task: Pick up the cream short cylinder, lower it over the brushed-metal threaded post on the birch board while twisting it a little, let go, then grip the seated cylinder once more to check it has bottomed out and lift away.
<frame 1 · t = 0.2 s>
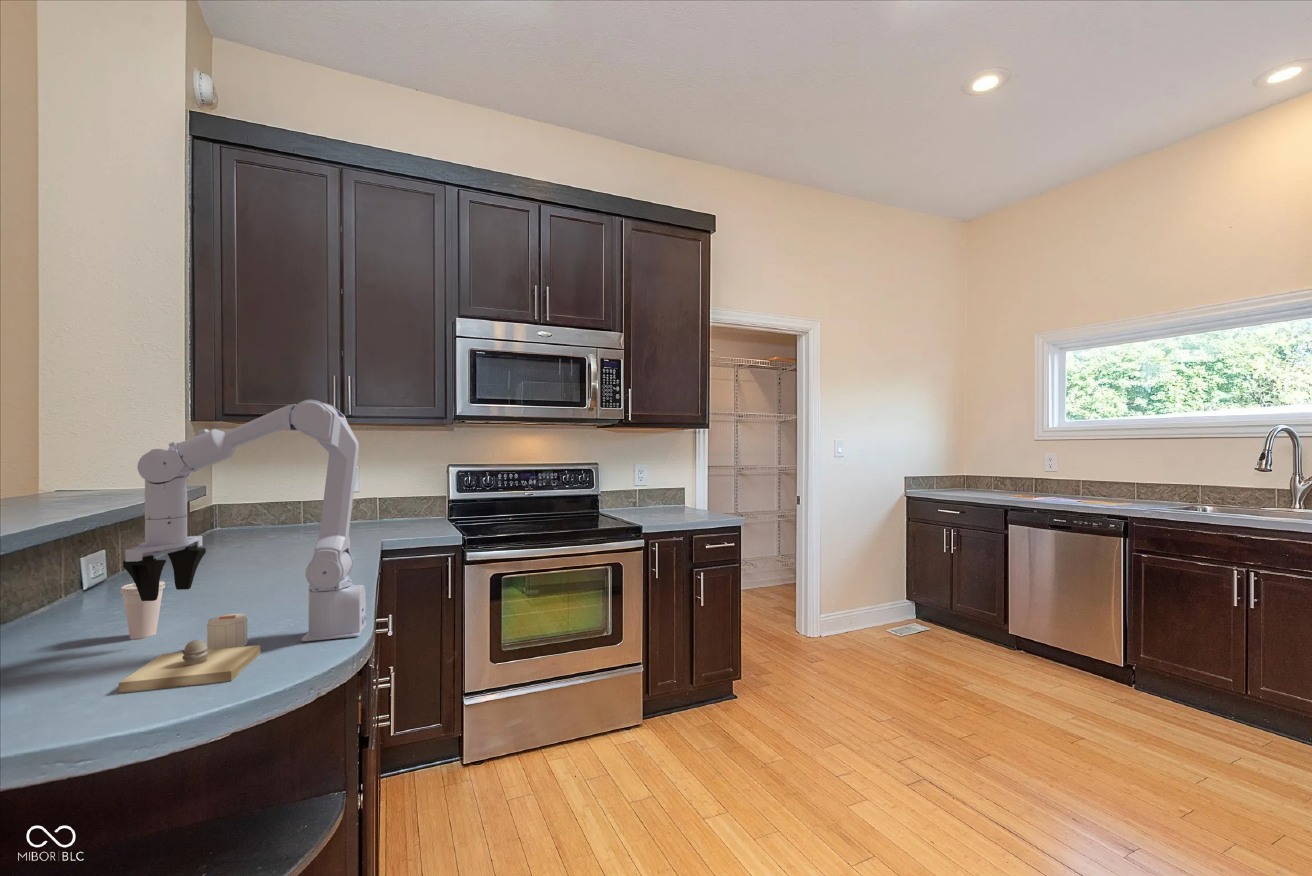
hand: (166, 594, 102), 10 cm above the countertop, tool pointing down, fingers open, 7 cm apart
smoothie: (143, 636, 109), on the countertop
post board: (195, 671, 92), on the countertop
cream short cylinder: (227, 646, 103), on the countertop
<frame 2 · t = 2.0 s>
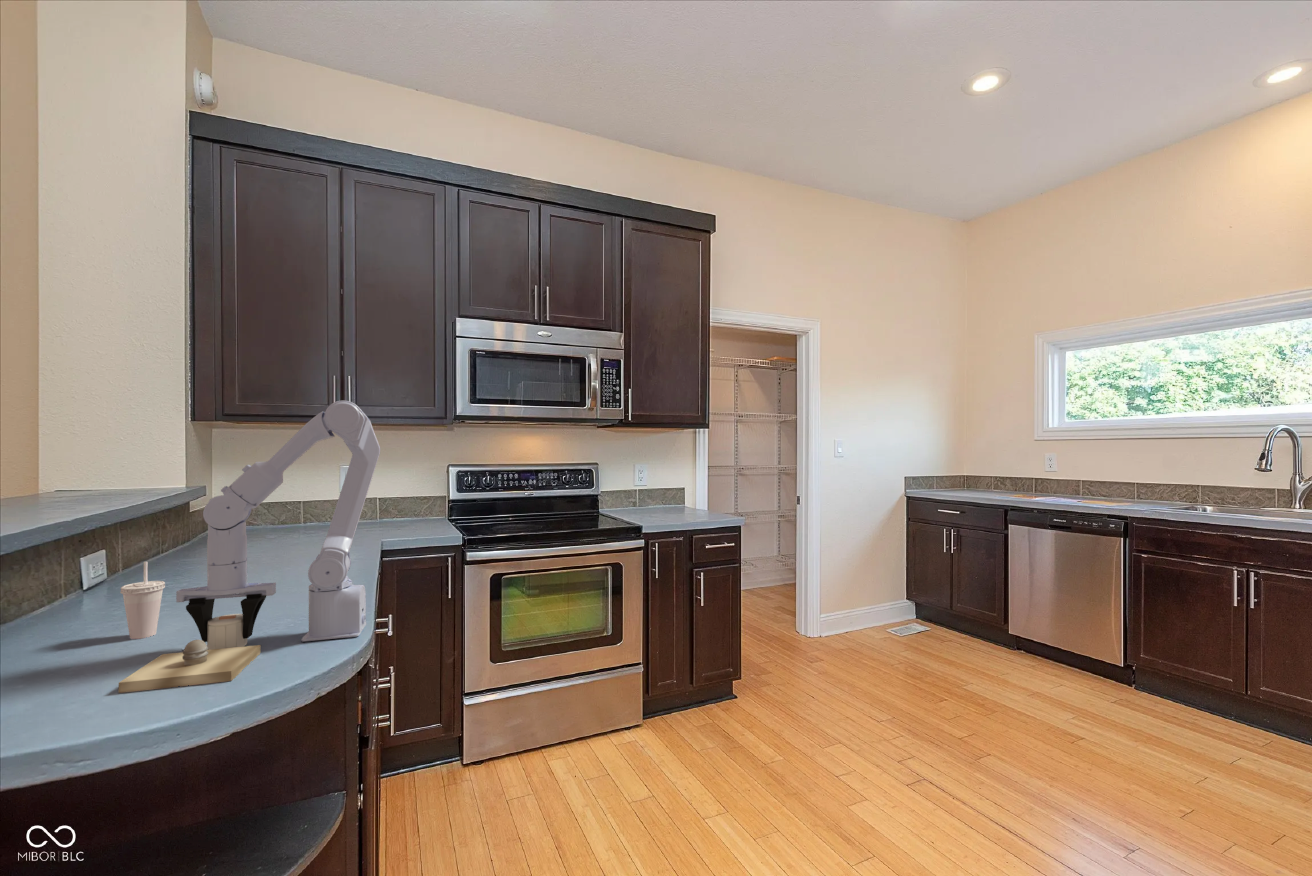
hand: (227, 638, 103), 1 cm above the countertop, tool pointing down, fingers closed on cream short cylinder, 6 cm apart
cream short cylinder: (227, 646, 103), on the countertop, touching gripper
everything else where it was.
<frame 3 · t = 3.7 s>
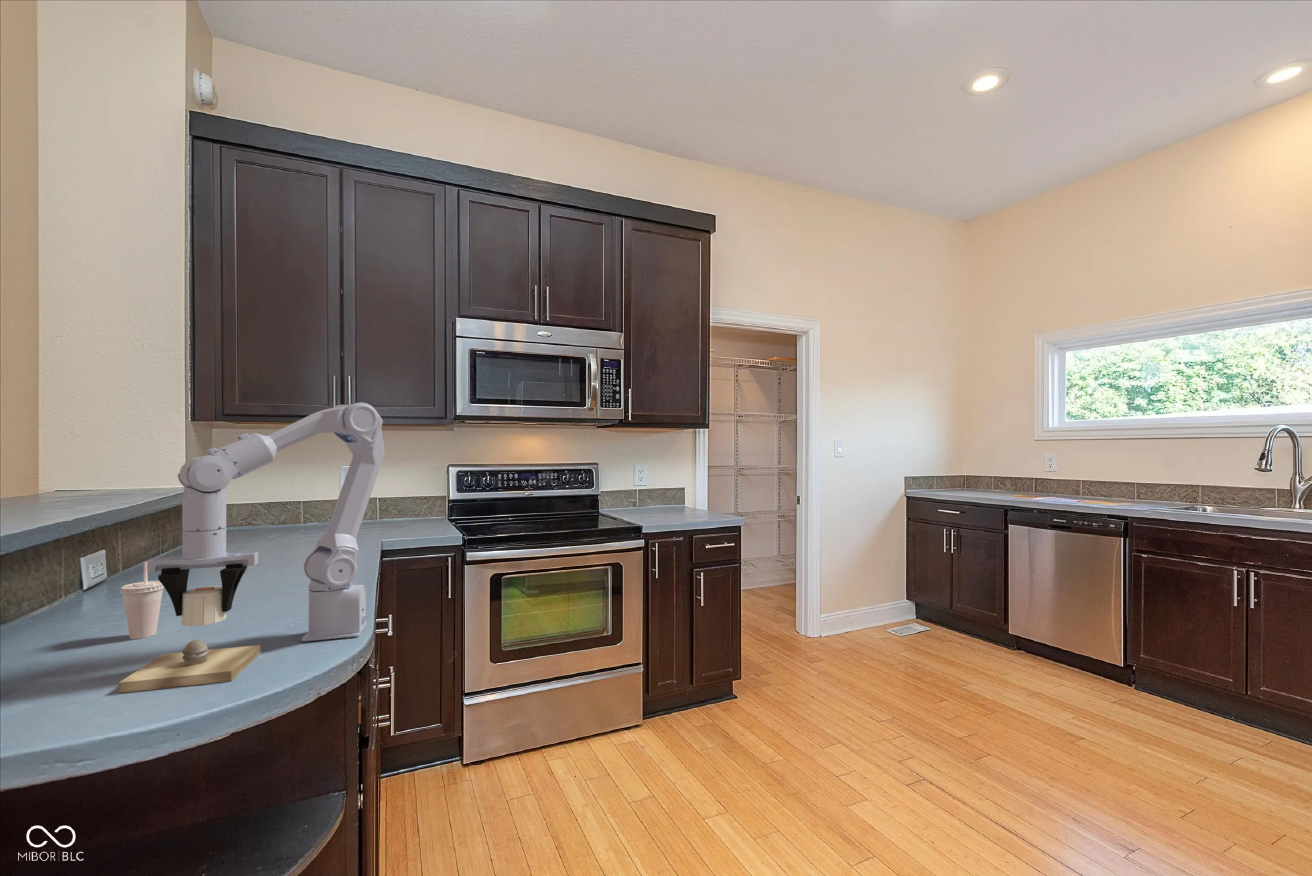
hand: (204, 612, 95), 8 cm above the countertop, tool pointing down, fingers closed on cream short cylinder, 6 cm apart
cream short cylinder: (204, 620, 95), point 7 cm above the countertop, touching gripper
everything else where it was.
when the fingers open (4 cm above the countertop, at t = 5.6 s): cream short cylinder stays where it is, resting on post board.
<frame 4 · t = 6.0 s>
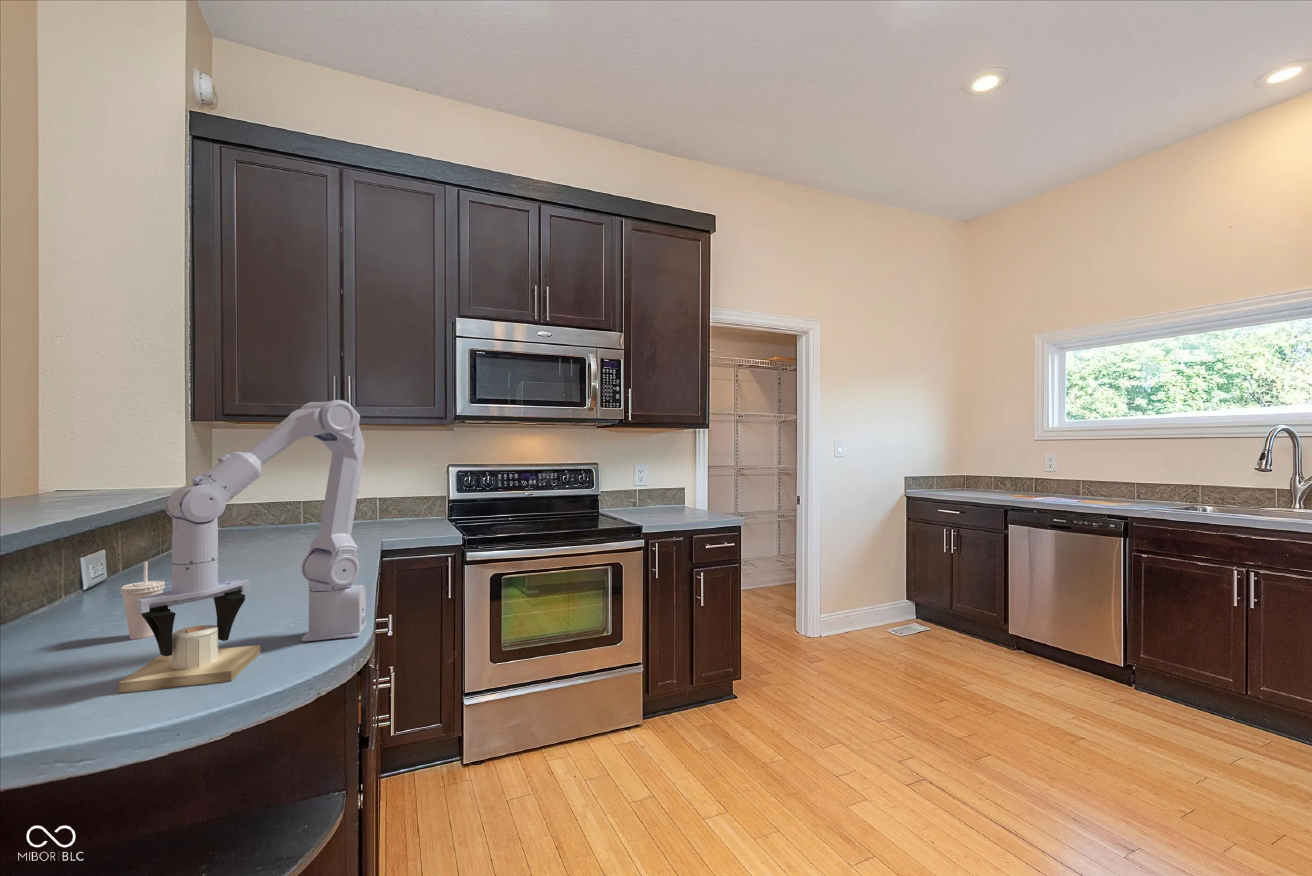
hand: (195, 647, 92), 4 cm above the countertop, tool pointing down, fingers open, 7 cm apart
cream short cylinder: (195, 662, 92), point 1 cm above the countertop, touching post board
everything else where it was.
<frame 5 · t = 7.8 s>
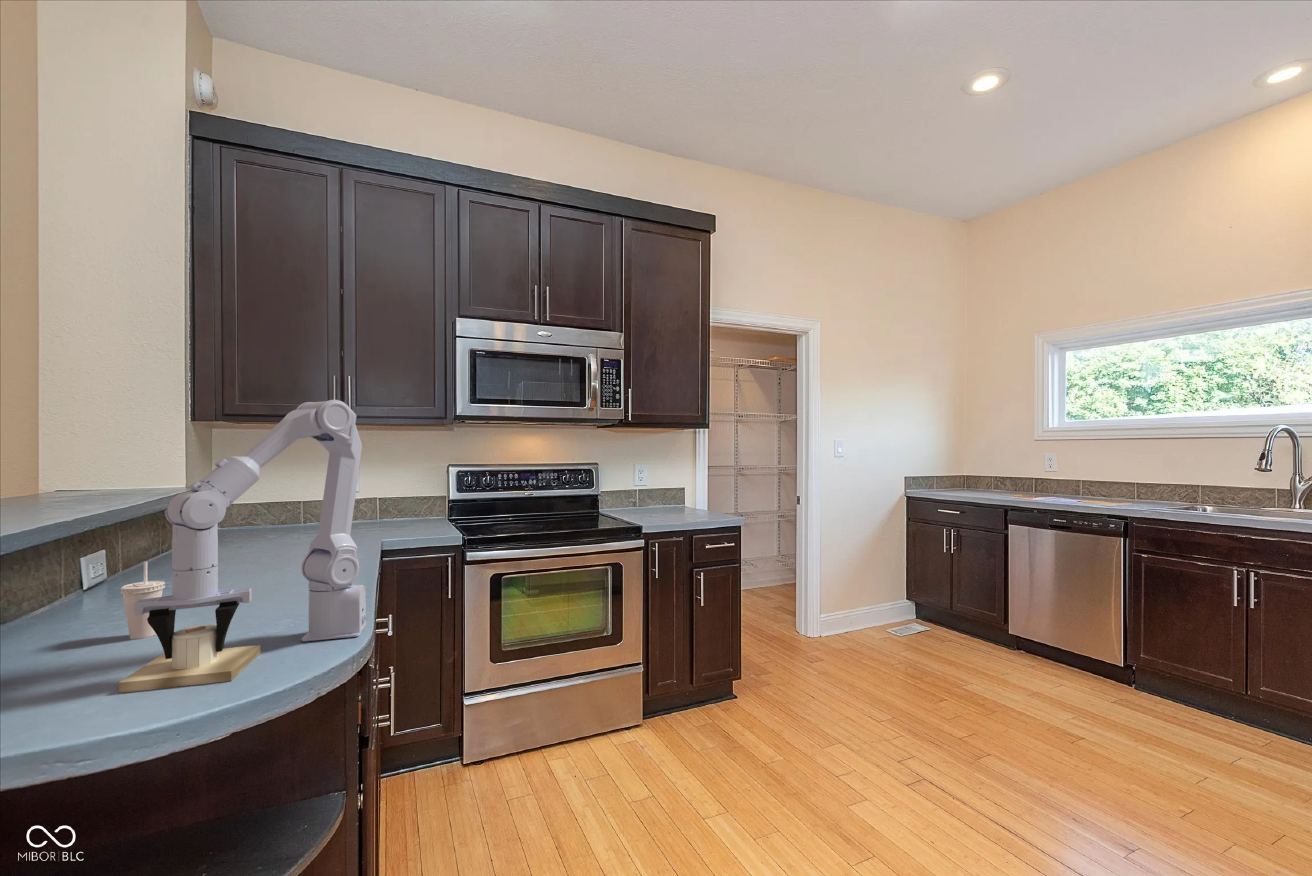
hand: (195, 653, 92), 3 cm above the countertop, tool pointing down, fingers closed on cream short cylinder, 6 cm apart
cream short cylinder: (195, 662, 92), point 2 cm above the countertop, touching gripper, post board
everything else where it was.
when the fingers open (3 cm above the countertop, at t = 9.3 s): cream short cylinder stays where it is, resting on post board.
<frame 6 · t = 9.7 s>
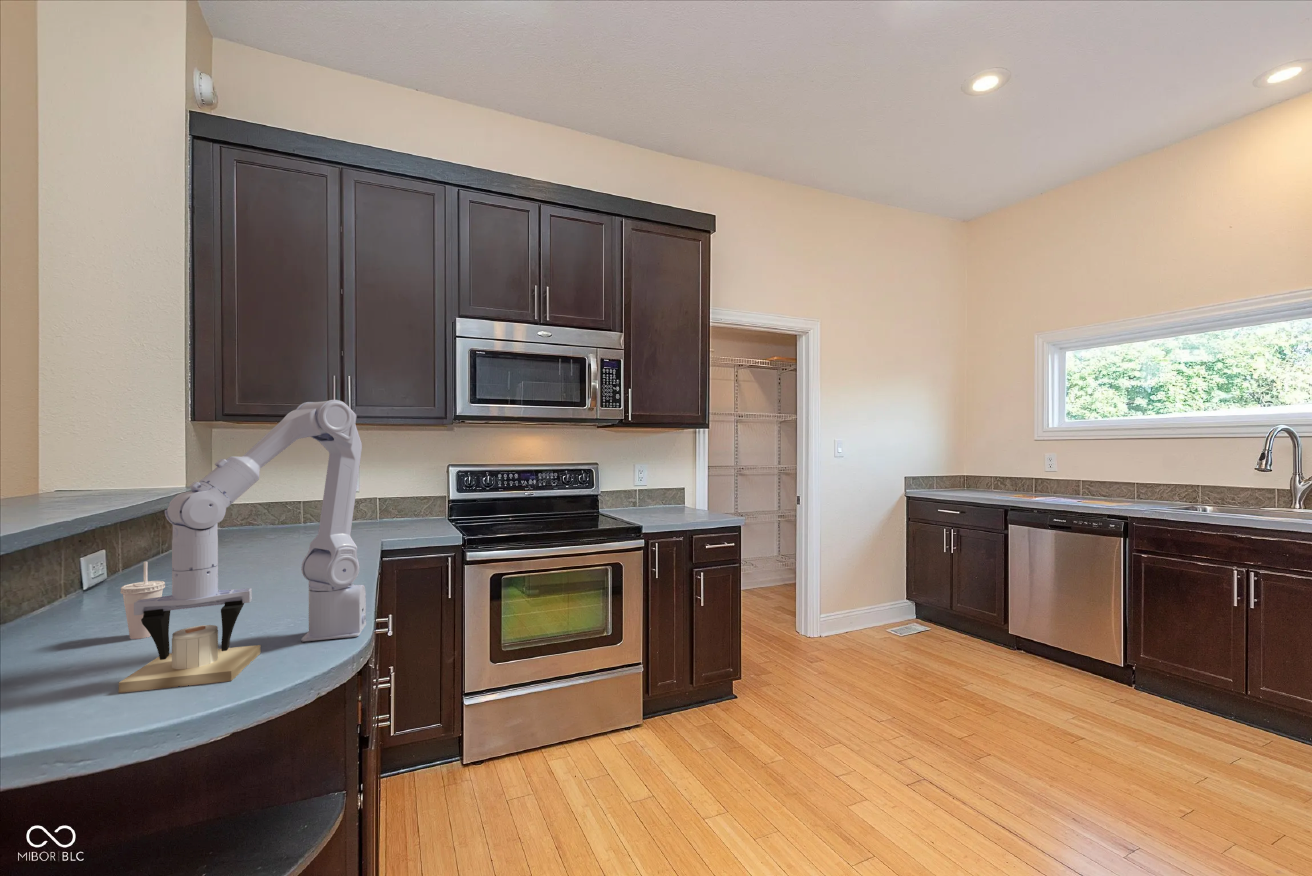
hand: (195, 653, 92), 3 cm above the countertop, tool pointing down, fingers open, 7 cm apart
cream short cylinder: (195, 662, 92), point 1 cm above the countertop, touching post board
everything else where it was.
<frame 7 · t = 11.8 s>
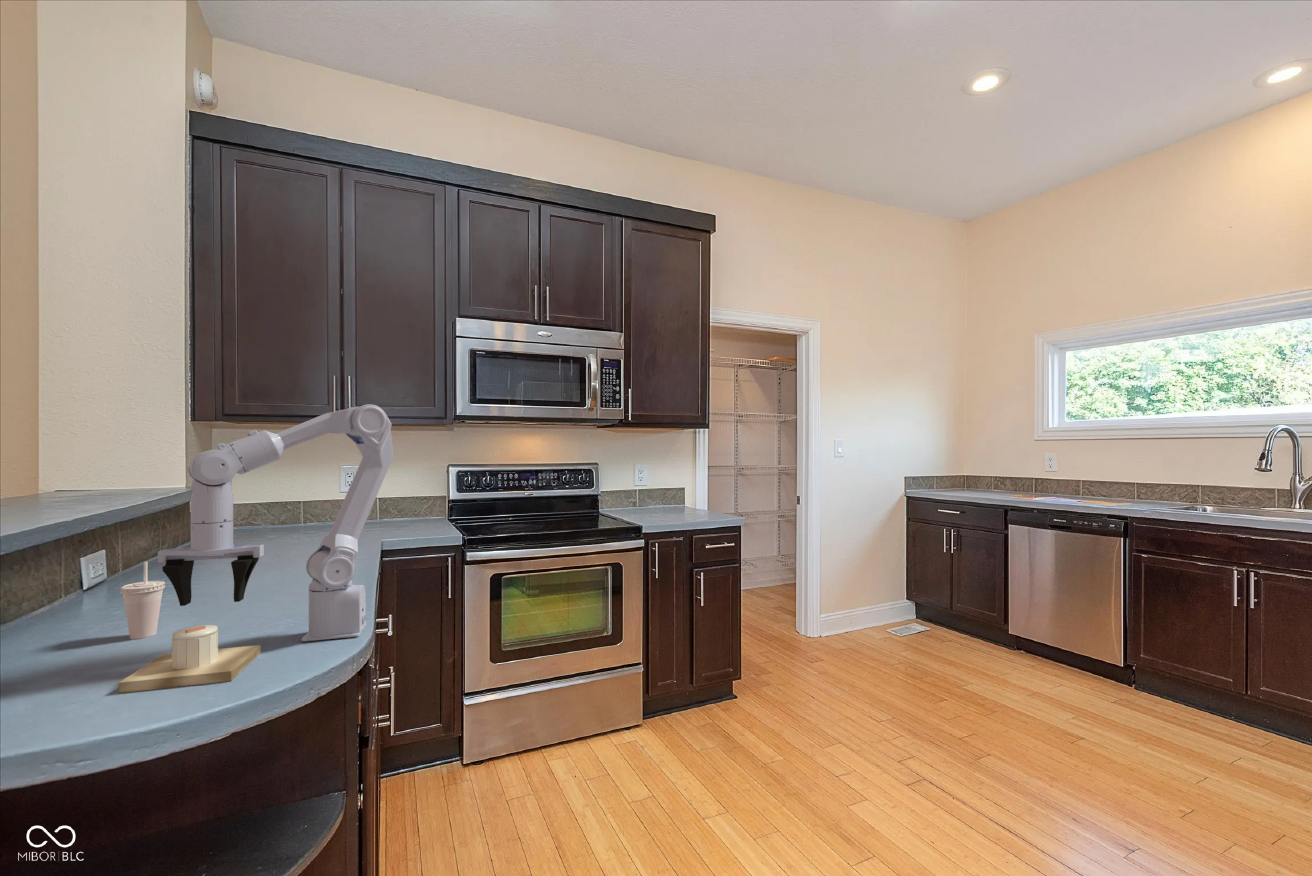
hand: (212, 602, 97), 9 cm above the countertop, tool pointing down, fingers open, 7 cm apart
nothing on the countertop moved.
at the end: cream short cylinder 0.0 cm off-centre on the post board, point 1.5 cm above the post board's base; cream short cylinder tilted 0°; the gripper is holding nothing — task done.
